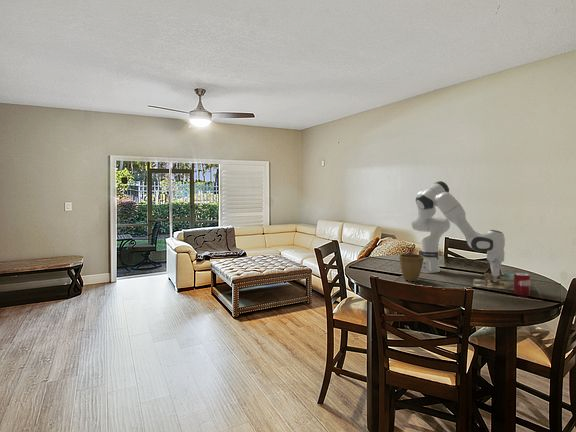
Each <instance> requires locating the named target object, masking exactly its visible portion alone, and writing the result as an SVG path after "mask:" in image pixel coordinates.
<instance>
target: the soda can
mask: <svg viewBox="0 0 576 432" xmlns="http://www.w3.org/2000/svg"><path fill="white" fill-rule="evenodd" d="M513 274H514V282H513V283H514V290H513V294H515V296H516V297H517V298H522V299H523V298H524V299H526V298H527V299H528V298H529V297H528V296H530V295H531V275H530V273H527V272H526V273H525V272H515V273H513Z"/></svg>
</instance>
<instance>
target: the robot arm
mask: <svg viewBox="0 0 576 432" xmlns="http://www.w3.org/2000/svg"><path fill="white" fill-rule="evenodd" d="M415 203H416V206H417V211H418V213H417V215H416V216H414V217H413V218H412V220H411V221H410V225H411V228H412V229H413V230H414V231H418V232H423V233H424V232H425V233H428V232H429V233H430V234H429V235H428V236H425V237H423V238H422V240H421V249H419V250H418V254H417V255H422V256H424V259H423V264H422V268H421V271H420V273H425V274H431V273H439V272H441V268H440V264H439V262H440V261H439V259H440V251H439V246H440V245H439V242H440V239H441V237H442V236H443V235H444V234H445V233H446V232H448V231H449V229H450V228H451V223H452V224H454V225H455V226H457V228H458V229H459V230H460V231H461V233H462V234H463V235H464V237H465V240H466V244H467V246H468V247H469V248H470V249H472V250H474V251H475V252H479V253H482V252H486V260H487V261H488V263H489V265H490V266H489V267H490V271H491V274H492V276H493V279H497V276H499V275H500V274H501V269H500V267H501V265H502V263H503V262H505V250H504V249H505V246H506V245H505V244H506V243H505V242H506V241H505V239H506V238H505V233H503V232H502V231H500V230H496V229H495V230H494V229H489V230H487V231H486V232H484V233H479V232H477V231H475V230H474V228H473V227H472V225H471V224H470V223H469V222H468V220H467V218H466V211H465V209H464V208H463V206H462V204H461V203H460V202H459V201H458V200H457V199H456V198H455V197H454V196H453V195H452V194H451V193H450V188H449V186H448V185H447V183H446V182H443V180H442V181H436V182H434V183H433V184H432V185H429V186H428V187H427V188H426V189H422V190H420V191H418V192H417V193H416V196H415ZM436 207H437V208H438V209H439V210H440V212H441V213H442V214H443V216H444V217H443V216H435V214H436V212H437V210H436V209H437V208H436ZM493 281H494V282H497V281H495V280H493Z"/></svg>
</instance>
